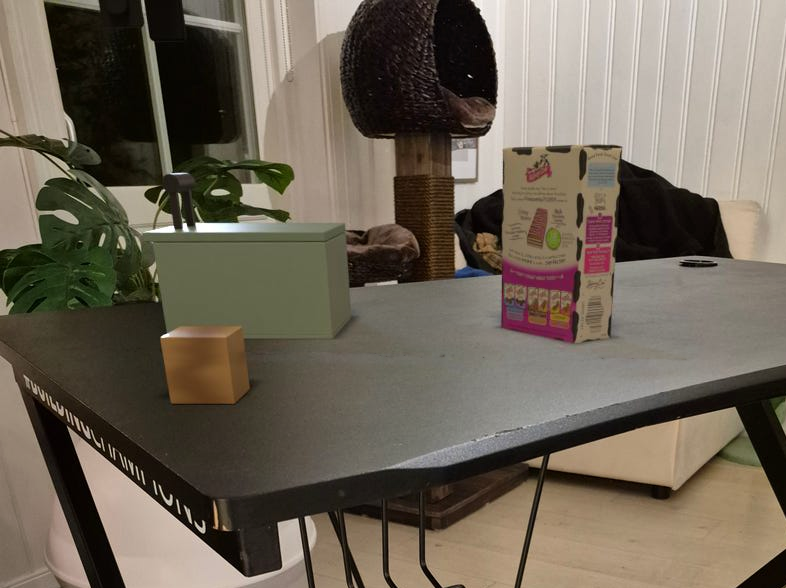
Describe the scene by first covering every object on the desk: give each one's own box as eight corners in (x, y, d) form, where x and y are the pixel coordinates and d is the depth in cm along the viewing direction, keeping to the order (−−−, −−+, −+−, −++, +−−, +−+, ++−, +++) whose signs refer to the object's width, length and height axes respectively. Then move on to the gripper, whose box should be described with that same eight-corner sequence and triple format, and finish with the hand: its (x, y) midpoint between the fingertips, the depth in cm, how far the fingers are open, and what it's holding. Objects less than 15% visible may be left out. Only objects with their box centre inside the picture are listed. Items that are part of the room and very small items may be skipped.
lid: (143, 242, 81) (132, 174, 79) (185, 231, 92) (177, 172, 90) (325, 241, 81) (319, 174, 78) (345, 231, 92) (341, 171, 89)
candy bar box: (613, 343, 85) (626, 144, 77) (574, 349, 82) (583, 144, 75) (536, 327, 93) (540, 145, 85) (498, 332, 90) (499, 145, 83)
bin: (168, 344, 85) (152, 242, 81) (206, 322, 96) (193, 232, 92) (333, 344, 85) (325, 242, 81) (351, 322, 96) (345, 231, 92)
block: (170, 404, 65) (159, 337, 62) (189, 389, 69) (180, 326, 67) (234, 404, 65) (226, 337, 62) (250, 389, 69) (242, 326, 66)
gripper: (106, -198, 75) (143, 46, 83) (-4, -288, 60) (55, 22, 68) (194, -201, 75) (223, 45, 83) (106, -292, 60) (152, 20, 68)
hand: (147, 34), depth 76 cm, fingers open, 9 cm apart
